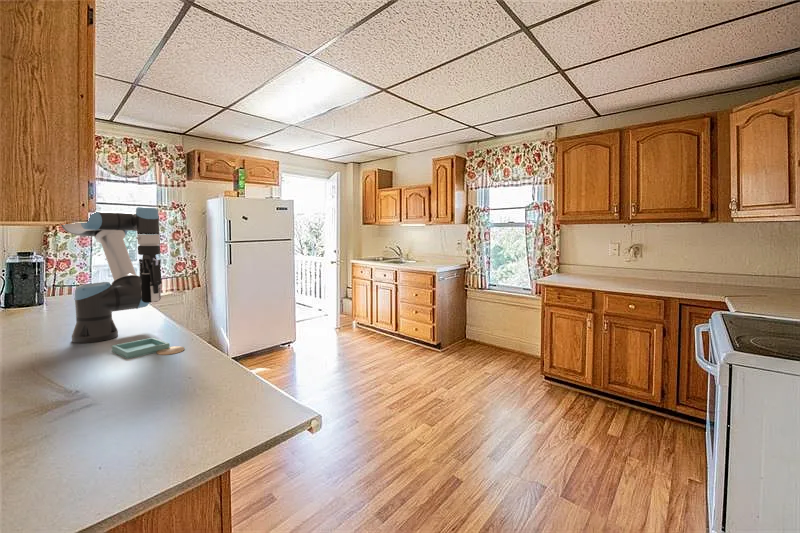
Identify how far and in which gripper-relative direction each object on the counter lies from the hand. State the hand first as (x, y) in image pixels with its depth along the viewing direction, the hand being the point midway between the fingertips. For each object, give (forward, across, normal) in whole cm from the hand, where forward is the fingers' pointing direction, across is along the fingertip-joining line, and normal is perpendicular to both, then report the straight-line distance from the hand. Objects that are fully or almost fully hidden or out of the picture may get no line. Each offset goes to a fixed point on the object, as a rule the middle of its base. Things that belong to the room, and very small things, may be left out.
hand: (151, 300), depth 153 cm
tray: (+17, +12, -9) cm, 22 cm away
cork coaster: (+17, +22, -3) cm, 28 cm away
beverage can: (+1, 0, 0) cm, 1 cm away
